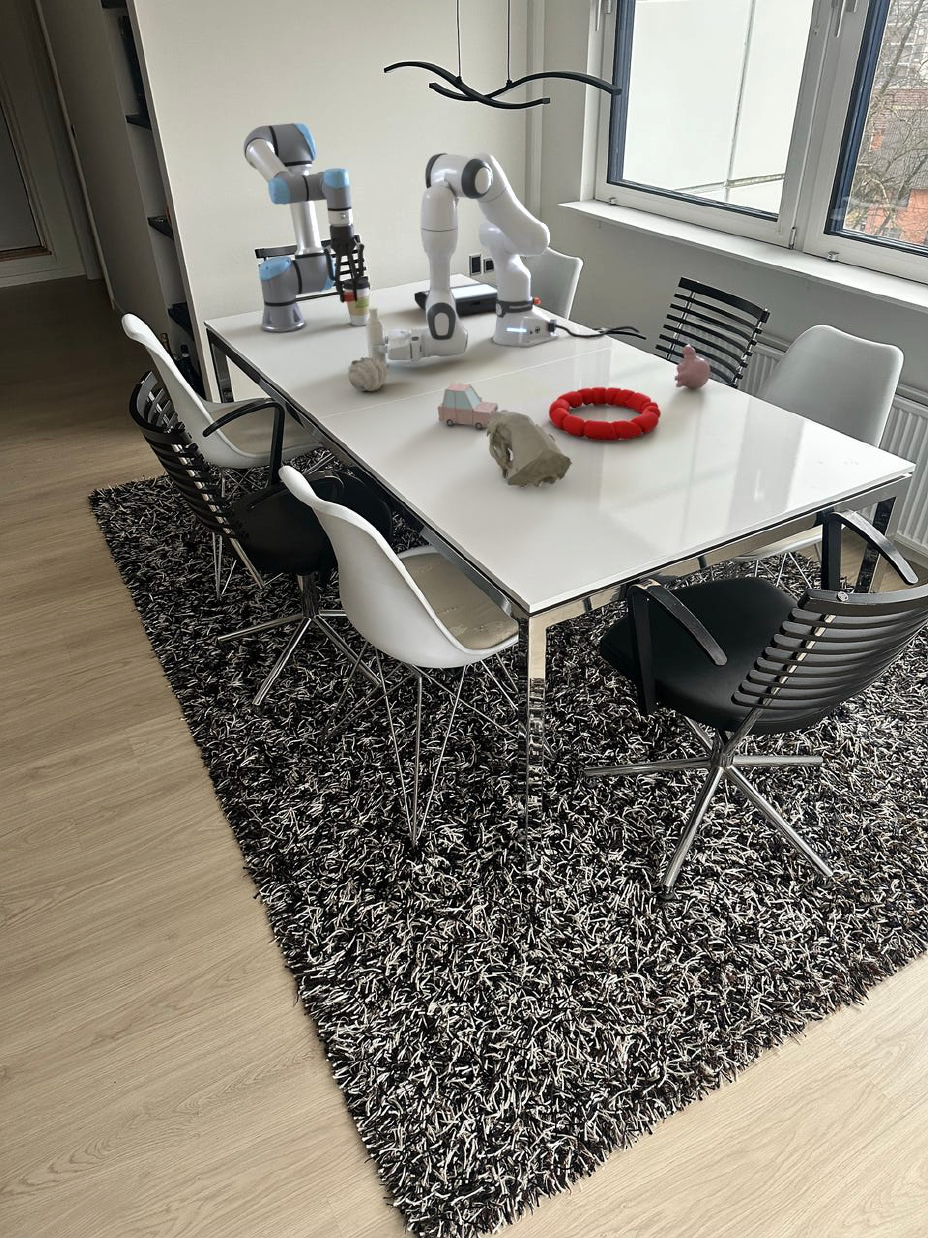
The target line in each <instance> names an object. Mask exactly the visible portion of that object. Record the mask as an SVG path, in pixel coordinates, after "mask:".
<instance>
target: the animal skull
mask: <svg viewBox="0 0 928 1238" xmlns="http://www.w3.org/2000/svg"><path fill="white" fill-rule="evenodd" d="M485 436H486V438H487V437H489V438H488V440H489V444H488V445H489V446H488V450H489V454H490V456H491V457H492V458H493V459H494V460H495V462H496V464H497V466H499V468H500V470H501V471H502V472H501V478H502V479H507V480H506V484H507V486H517V487H518V486H519V488H523V489H524V488H526V486H527V485H529V483H531V485H533V486H534V487H536V488H540V485H541V484H542V482H544V483H549V484H550V485H553V484H555V483H556V482H557V480H561V479H563V478H565V476H566V474H567V472H568V471H569V469H570V467H571V466H572V464H573V462H572V461H571V458H570V457H568V456H567V455H565V453H564V451H562V449H561V448H560V446H559V444H557V443H556V439H555V438H554V436H553V435H551V434H550V433H548V432H547V431H546V430H545V429H544V428H542V427H541V426H539V425H538V424H537V423H536V424H535V422H534V421H533V419H532V418H531V417H530V416H529V415H527V414H524V413H519V412H515V411H509V410H507V409H502V410H500V411H499V410H497V411H496V412H492V413H491V414H490V422H488V423H487V427H486V435H485ZM511 453H512V454H511ZM511 455H512V457H513V458H512V460H511ZM507 474H508V475H507Z"/></svg>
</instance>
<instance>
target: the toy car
mask: <svg viewBox="0 0 928 1238" xmlns="http://www.w3.org/2000/svg"><path fill="white" fill-rule="evenodd" d="M498 409H499V404H498V403H497V402H490V401H489V402H487V401H483V397H481V396H480V395H479V394H478V393H477V391H476V390H475V389H474V386H472V384H469V383H459V382H451V383H450V384H449V385H448V386H447V387H446V388H445V389H444V394H443V399H442V403H440V404H439V405H438V406H437V413H438V421H439V422H443V423H446V425H447V426H448V427H452V426H454V425H455V424H461V425H469V426H473V427H475V429H476V430H479V431H480V430H481V429H483V428H485V427H486V428H487V423H488V422H490V414H491V413H492V412H496V411H499V410H498Z"/></svg>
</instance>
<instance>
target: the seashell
mask: <svg viewBox="0 0 928 1238" xmlns="http://www.w3.org/2000/svg"><path fill="white" fill-rule="evenodd" d="M387 377H388V368H387V366H385V364H384V362H383V361H381V362H380V361H379V360H378V359H377V358H376V359H375V358H369V356H367V357H363V356H362V357H360V359H359V360H357V359H353V360H351V362H350V364H349V366H348V371H347V378H348V382H349V384H350V385H351V386H352V387H353V388H354V389H355V390H357V391H361V392H364V391H365V392H366V391H368V392H373V391H377V390H379V389H380V388H381V387H382V386H383V384H384V383H385V382H386V380H387Z"/></svg>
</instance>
